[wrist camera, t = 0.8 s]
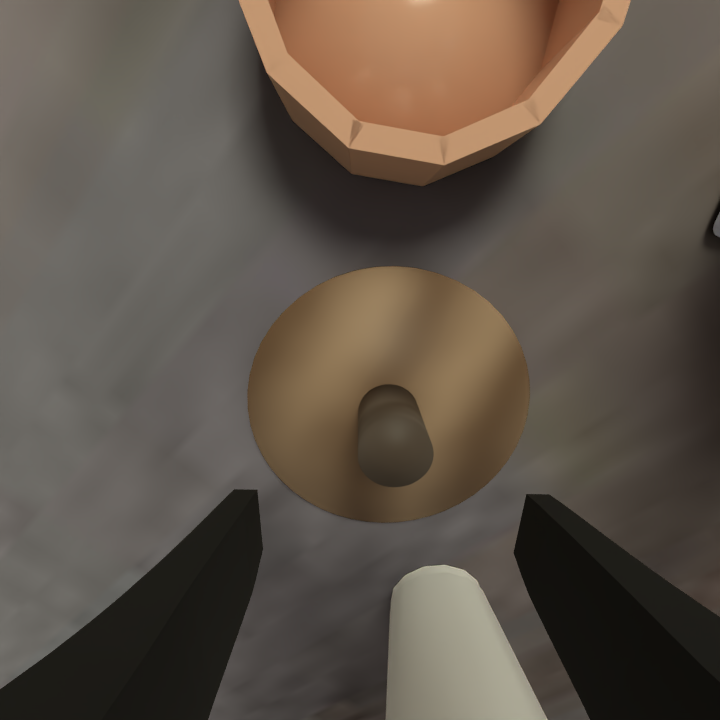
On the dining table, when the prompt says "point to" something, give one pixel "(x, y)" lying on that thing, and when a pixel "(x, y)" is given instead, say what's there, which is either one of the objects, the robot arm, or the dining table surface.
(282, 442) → the lid
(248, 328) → the dining table surface
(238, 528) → the robot arm
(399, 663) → the foam cup
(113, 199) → the dining table surface
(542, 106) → the bowl
